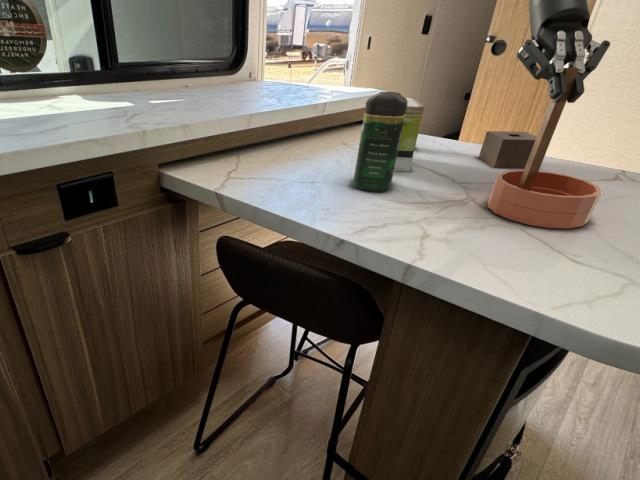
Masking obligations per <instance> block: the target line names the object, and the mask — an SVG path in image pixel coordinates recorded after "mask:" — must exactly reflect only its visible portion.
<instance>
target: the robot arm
mask: <svg viewBox="0 0 640 480" xmlns="http://www.w3.org/2000/svg"><path fill="white" fill-rule="evenodd" d="M527 5H528V15H529V28H530V39H526V40H525V41H524V43H523V44H522V45H521V46H520V48H519V49H518V50H517V51H516V53H515V56H516V57H517V58H518V60H519V61H520V62H521V64H522V65H523V66H524V68H526V70H527V71H528V72H529V73H530V75H531V77H533V79H534V80H536V81H539V80H541V79H543V80H544V81H545V82H546V83H547V85H548V86H547V87H548V96H549V98H550V100H551V99H553V103H559V102H560V101H561V100H562V99H563V98H564V97H565V96H566V95H567V85H566V77H565V73H562V72H563V71H564V67H571V68H579V71H578V73H577V76H576V78H575V81H574V83H573V86H572V88H571V91H570V93H569V96H568V98H567V101H566V103H567V104H573V103H576V102H577V100H579V99H580V98H581V96H582V95H583V94H584V93H585V82H584V81H585V79H586V78H587V77H588V76H589V75H590V74H591V73H592V72H594V71H595V70H596V69H597V68H598V66H599V64H600V63H601V61H602V59H603V58H604V56H605V54H606V53H607V51H608V50H609V48H610V46H611V42H610V40H607V39H606V40H602V41H601V43H600V42H598V41H596V40H594V39H593V35H592V33H591V31H590V30H589V24H590V19H591V14H590V13H591V12H590V6H589V5H590V4H589V0H528V4H527ZM585 50H586V51H585ZM585 59H586V60H585ZM584 60H585V61H584ZM538 66H539V67H540V68H539V67H538Z"/></svg>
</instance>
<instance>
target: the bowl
mask: <svg viewBox="0 0 640 480" xmlns="http://www.w3.org/2000/svg"><path fill="white" fill-rule="evenodd" d="M523 172H524V169H514V170H513V169H512V170H506V171H502V172H500V173H497V175H496V178H495V180H494V184H493V186H492V190H491V192H490V194H489V197H488V200H487V208H488V209H489V210H490V211H492V212H493V213H494V214H496V215H498V216H500V217H502V218H505V219H507V220H509V221H513V222H516V223H521V224H524V225H528V226H534V227H540V228H546V229H567V230H569V229H574V228H575V229H576V228H580V227H584V226H585V225H586V224H587V223H589V221H590V219H591V216H592V214H593V212H594V211H595V208H596V206H597V204H598V202H599V200H600V198H601V196H602V193H603V190H602V189H601V187H600V185H597V184H595V183H593V182H591V181H588V180H586V179H583V178H579V177H576V176H573V175H569V174H563V173H558V172H552V171H543V170H539V171H538V174H537V176H536V179H535V181H534V184H533V186H532V189H531V191H530V190H525V189H522V188H519V187H518V185H519V182H520V180H521V177H522V174H523Z"/></svg>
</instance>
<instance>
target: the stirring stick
mask: <svg viewBox="0 0 640 480" xmlns="http://www.w3.org/2000/svg"><path fill="white" fill-rule="evenodd" d="M578 71H579V68H571V67H564V71H563V72H562V73H565V77H566V85H567V95H566V96H565V97H564V98H563V99H562V100H561V101H560V102H559V103H553V99H551V98H550V101H549V104H548V106H547V108H546V112H545V114H544V117H543V119H542V122H541V125H540V126H539V129H538V133H537V135H536V136H537V137H536V140H535V143H534V145H533V148H532V151H531V153H530V156H529V159H528V161H527V164H526V167H525V168H523V170H524V172H523V174H522V177H521V180H520V182H519V185H518V187H519V188H522V189H525V190H530V191H531V189H532V186H533V184H534V181H535V179H536V176H537V174H538V171H540V169H541V167H542V164H543V161H544V159H545V157H546V154H547V151H548V149H549V146H550V144H551V141H552V138H553V136H554V133H555V131H556V128H557V126H558V123H559V121H560V119H561V116H562V113H563V111H564V110H565V109H564V108H565V107H566V104H567V98H568V96H569V93H570V91H571V88H572V86H573V83H574V81H575V78H576V76H577V73H578Z"/></svg>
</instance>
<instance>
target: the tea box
mask: <svg viewBox="0 0 640 480" xmlns="http://www.w3.org/2000/svg"><path fill="white" fill-rule="evenodd" d="M405 98H406V99H407V109H406V115H405V120H404V126H403V131H402V136H401V140H400V145H399V150H398V154H397V158H396V163H395V167H394V172H410V171H411V167H412V163H413V162H412V161H413V157H414V154H415V149H416V145H417V141H418V136H419V132H420V128H421V124H422V120H423V115H424V111H425V106H424V104H422V103H421V102H420V101H418V100H417V99H416V98H412V97H405Z"/></svg>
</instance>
